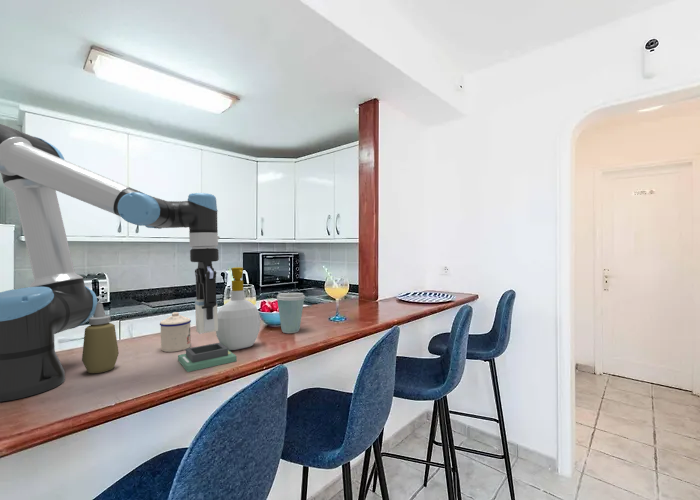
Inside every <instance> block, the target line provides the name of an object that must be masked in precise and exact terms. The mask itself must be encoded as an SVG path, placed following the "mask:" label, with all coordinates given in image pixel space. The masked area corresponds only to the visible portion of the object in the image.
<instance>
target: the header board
mask: <svg viewBox="0 0 700 500" xmlns="http://www.w3.org/2000/svg"><path fill="white" fill-rule="evenodd" d="M177 361H178V362H179V363H180V365H182V367H183V369H184V370H185V371H186V372H187V373H188V372H189V373H190V372H193V371H194V372H195V371H197V370H198V371H199V370H203V369H207V368H208V369H209V368H212V367H216V366H222V365H225V364H230V363H235V362H237V355H236V354H235V353H233V352H232V351H231V350H228V348H226V347H225V346H224V345H222V344H221V343H220V342H214V343H210V344H205V345H204V344H203V345H198V346H194V347H189V348H187V349H185V353H183V354H177Z"/></svg>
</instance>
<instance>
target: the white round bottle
mask: <svg viewBox="0 0 700 500" xmlns="http://www.w3.org/2000/svg"><path fill="white" fill-rule="evenodd" d="M231 275H232V279H233V280H231V290H230V300H228V301H227V302H225V304H224V303H223V305H222V306H221V307H220V309H218V311H217V313H218V331H215V334H216V338H217V339H218V343H221V344H222V345H224V346H225V347H226V348H228V350H229V351H237V350H243V349H248V348H250V347H252V346H253V345H255V343H256V340H257V337H258V335H259V332H260V328H261V318H260V316H261V315H260V312H259V309H258V307H257V306H256V305H255V304H254V303H252V302H251V301H249V300H247V299H245V289H244V280H242V278H243V275H244V267H239V266H238V267H237V266H236V267H232V268H231Z"/></svg>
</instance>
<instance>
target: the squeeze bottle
mask: <svg viewBox="0 0 700 500" xmlns="http://www.w3.org/2000/svg"><path fill="white" fill-rule="evenodd" d="M82 344H83V345H82V355H81V362H82V363H83V365H84V367H85V369H86V372H87V373H88V374H98V373H99V374H100V373H105V372H108V371H110V370H111V371H112V370H113V369H115V366H116V362H117V360H118V357H119V353H120V352H119V346H118V340H117V332H116V326H115V324H114V323H112V322H111V315H106V312H105V309H104V305H103V303H97V305H96V310H95V313H94V315H93V316H92V317H91V318H89V320H88V325H87V327H85V328H84V334H83V343H82Z"/></svg>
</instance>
